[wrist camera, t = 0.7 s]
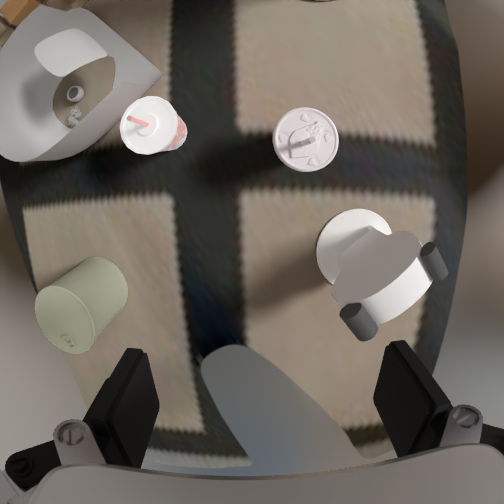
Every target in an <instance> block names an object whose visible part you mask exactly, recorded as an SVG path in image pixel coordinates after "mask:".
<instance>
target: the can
mask: <svg viewBox="0 0 504 504" xmlns="http://www.w3.org/2000/svg"><path fill="white" fill-rule="evenodd" d="M127 297H128V287H127V283H126V280H125V277H124V275H123V274H122V272H121V271H120V269H119V268H118V267H117V266H116V265H115V264H113V263H112V262H111V261H109V260H107V259H105V258H101V257H91V258H88V259H86V260H84V261H83V262H81V263H80V265H78V266H77V267H76V268H74V269H73V270H71V271H70V272H68V273H67V274H65V275H64V276H62V277H61V278H59V279H58V280H56V281H55V282H53V283H52V284H50V285H49V286H47V287H45V288H43V289H42V290H41V291H40V292H39V293H38V295H37V297H36V300H35V316H36V320H37V323H38V325H39V327H40V329H41V330H42V332H43V334H44V335H45V336H46V338H47V339H48V340H49V341H50V342H51V343H52V344H53V345H55V346H56V347H58V348H59V349H61V350H63V351H65V352H68V353H72V354H80V353H83V352H86V351H87V350H88V349H89V348H90V347H91V346H92V345H93V343H94V341H95V340H96V338H97V337H98V336H99V335H100V333H101V332H102V331H103V329H104V328H105V327H106V326H107V324H108V323H109V322H110V321H111V320H112V318H113V317H114V316H115V315H116V314H117V312H119V311H120V310H121V309H122V308H123V307H124V305H125V304H126V301H127Z"/></svg>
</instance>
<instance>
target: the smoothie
mask: <svg viewBox="0 0 504 504" xmlns="http://www.w3.org/2000/svg"><path fill="white" fill-rule="evenodd" d="M338 143H339V139H338V133H337V130H336V127H335V125H334V124H333V122H332V121H331V120H330V118H329V117H328V116H326V115H325V114H324V113H322V112H320V111H318V110H316V109H313V108H297V109H294V110H291V111H289V112H288V113H286V114H285V115H283V116H282V117H281V118H280V119H279V121H278V122H277V124H276V125H275V128H274V132H273V146H274V150H275V152H276V154H277V155H278V157H279V159H280V160H281V161H282V162H283V163H284V164H285V165H287V166H288V167H290V168H292V169H294V170H297V171H300V172H311V171H316V170H319V169H321V168H323V167H325V166H326V165H328V164H329V163H330V162H331V161H332V159H333V158H334V156H335V154H336V152H337V149H338Z"/></svg>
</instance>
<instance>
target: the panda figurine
mask: <svg viewBox="0 0 504 504" xmlns="http://www.w3.org/2000/svg"><path fill="white" fill-rule="evenodd" d="M316 257H317V263H318V266H319V268H320V271H321V272H322V274H323V275H324V277H325V278H326V279H327V280H328V281H329V282H330V283H332V284H333V287H332V291H331V293H332V296H333V297H334V299H335V300H336V301H337V302H338V304H339V305H340V306H341V308H342V309H341V311H340V317H341V318H342V320H343V321H344V322H345V323H346V325H347V326H348V327H349V329H350V330H351V331H352V332H353V334H354V335H355V336H356V338H357V339H358V340H360V341H368V340H370V339H372V338H373V337H374V336H375V335H376V333H377V331H378V327H377V325H378V324H382V323H385V322H387V321H389V320H391V319H393V318H395V317H396V316H398V315H399V314H401V313H402V312H404V311H405V310H407V309H408V308H409V307H410V306H411V305H413V304H414V303H415V302H416V301H417V300H418V299H419V298H420V297H421V296H422V295H423V294H424V293H425V292H426V290H427V289H428V288H429V286H430V285H431V283H432V280H434V282H440V281H442V280H443V279H444V278H445V277H446V276H447V275H448V270H447V268H446V266H445V264H444V262H443V259H442V257H441V255H440V253H439V251H438V249H437V247H436V245H435V244H434V243H433V242H428V243H426V244H425V245H424V246H423V247H422V245H421V243H420V241H419V239H418V238H417V236H416V235H415V234H413V233H411V232H408V231H401V232H395V233H392V232H391V230H390V227H389V226H388V224H387V223H386V221H385V220H384V219H383V218H382V217H380V216H379V215H378V214H376V213H374V212H372V211H369V210H365V209H350V210H347V211H344V212H342V213H340V214H338V215H336V216H335V217H333V218H332V219H331V220H330V221H329V222H328V223H327V224H326V226H325V227H324V228H323V230H322V232H321V234H320V236H319V239H318V242H317V248H316Z"/></svg>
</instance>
